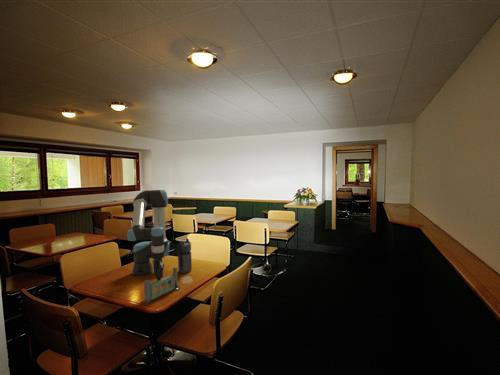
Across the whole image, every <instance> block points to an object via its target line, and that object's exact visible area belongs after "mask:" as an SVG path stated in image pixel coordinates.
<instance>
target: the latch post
mask: <svg viewBox="0 0 500 375" xmlns="http://www.w3.org/2000/svg"><path fill="white" fill-rule="evenodd" d="M142 283H143V284H144V303H145V304H149V303H151V302H152V300H151V287H150V284H151V283H152V280H151V279H146V280H143V282H142Z"/></svg>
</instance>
